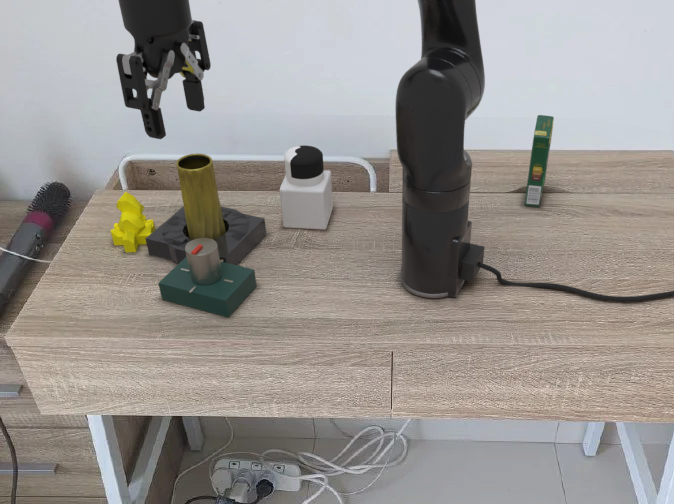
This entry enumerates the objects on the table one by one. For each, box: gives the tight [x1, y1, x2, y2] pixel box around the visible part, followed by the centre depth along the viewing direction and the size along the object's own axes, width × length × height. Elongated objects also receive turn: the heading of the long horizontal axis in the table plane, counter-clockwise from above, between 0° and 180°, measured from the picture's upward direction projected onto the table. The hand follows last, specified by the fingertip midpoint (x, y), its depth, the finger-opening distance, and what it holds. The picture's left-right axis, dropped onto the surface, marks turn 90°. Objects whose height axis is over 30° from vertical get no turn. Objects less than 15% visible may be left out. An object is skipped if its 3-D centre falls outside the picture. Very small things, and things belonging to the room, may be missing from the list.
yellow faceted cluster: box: [110, 191, 157, 254], centre depth 122 cm, size 6×8×8 cm
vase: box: [175, 153, 226, 240], centre depth 118 cm, size 6×6×14 cm
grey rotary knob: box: [185, 238, 222, 285], centre depth 110 cm, size 4×4×5 cm
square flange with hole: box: [145, 205, 267, 265], centre depth 122 cm, size 14×13×3 cm
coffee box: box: [524, 114, 555, 208], centre depth 131 cm, size 8×3×13 cm, turn 167°
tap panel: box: [157, 257, 258, 318], centre depth 112 cm, size 11×9×3 cm
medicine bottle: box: [278, 144, 334, 231], centre depth 125 cm, size 7×7×12 cm
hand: (177, 122), depth 96 cm, fingers open, 8 cm apart
